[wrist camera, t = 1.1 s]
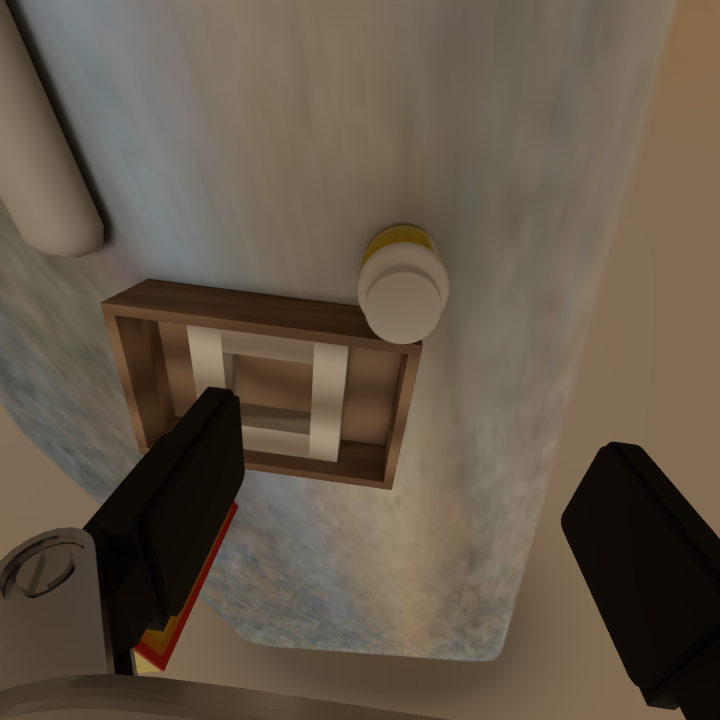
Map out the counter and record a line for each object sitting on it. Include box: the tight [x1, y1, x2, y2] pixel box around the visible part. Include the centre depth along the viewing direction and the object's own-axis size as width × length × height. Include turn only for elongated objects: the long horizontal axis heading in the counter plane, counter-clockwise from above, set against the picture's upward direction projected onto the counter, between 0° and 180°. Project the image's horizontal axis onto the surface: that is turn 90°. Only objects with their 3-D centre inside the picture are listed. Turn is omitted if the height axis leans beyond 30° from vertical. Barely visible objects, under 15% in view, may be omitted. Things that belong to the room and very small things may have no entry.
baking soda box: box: [134, 501, 238, 673], centre depth 35 cm, size 10×6×16 cm
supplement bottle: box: [357, 223, 450, 344], centre depth 23 cm, size 5×5×10 cm
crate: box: [100, 279, 422, 490], centre depth 30 cm, size 14×22×6 cm, turn 84°
